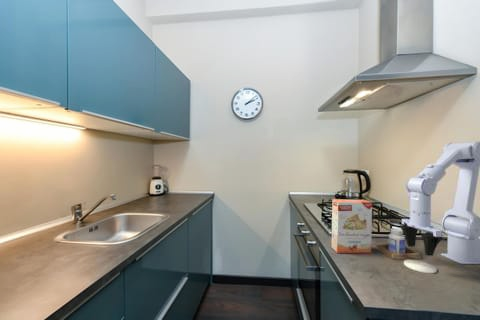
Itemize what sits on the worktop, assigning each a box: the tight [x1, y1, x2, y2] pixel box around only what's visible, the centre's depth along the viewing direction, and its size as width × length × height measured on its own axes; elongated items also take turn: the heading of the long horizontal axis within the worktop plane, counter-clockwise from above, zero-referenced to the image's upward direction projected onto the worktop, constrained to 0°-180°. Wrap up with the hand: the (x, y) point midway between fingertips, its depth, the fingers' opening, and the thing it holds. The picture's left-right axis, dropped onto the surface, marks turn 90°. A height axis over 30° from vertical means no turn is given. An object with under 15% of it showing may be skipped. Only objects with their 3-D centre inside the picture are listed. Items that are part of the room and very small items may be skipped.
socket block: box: [374, 243, 422, 261], centre depth 89 cm, size 11×11×2 cm
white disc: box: [403, 259, 438, 274], centre depth 78 cm, size 9×9×1 cm
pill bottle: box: [388, 227, 406, 254], centre depth 89 cm, size 5×5×10 cm
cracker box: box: [331, 198, 373, 254], centre depth 92 cm, size 14×6×21 cm, turn 91°
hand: (419, 250), depth 78 cm, fingers open, 7 cm apart
